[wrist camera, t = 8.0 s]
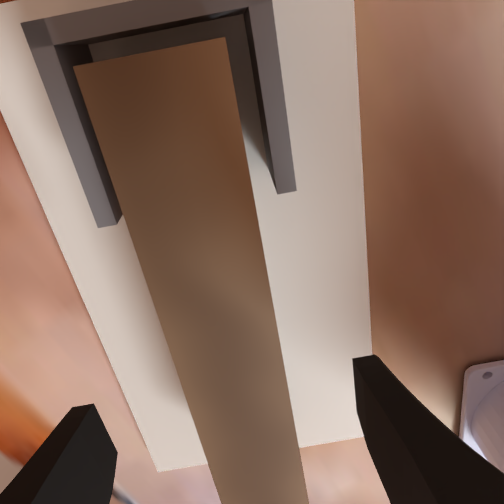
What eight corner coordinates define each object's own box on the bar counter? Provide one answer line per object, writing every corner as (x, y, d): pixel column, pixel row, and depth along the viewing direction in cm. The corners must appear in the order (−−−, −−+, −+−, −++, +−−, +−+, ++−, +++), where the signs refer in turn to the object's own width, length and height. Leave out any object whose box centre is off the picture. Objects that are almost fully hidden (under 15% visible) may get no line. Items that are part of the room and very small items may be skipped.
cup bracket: (341, -60, 13) (386, -98, 10) (370, 419, 23) (397, 488, 20) (-25, 14, 13) (-115, 3, 10) (160, 456, 23) (149, 530, 20)
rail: (224, 38, 13) (225, 36, 9) (294, 423, 21) (310, 511, 17) (118, 59, 13) (72, 66, 9) (227, 435, 21) (228, 524, 17)
